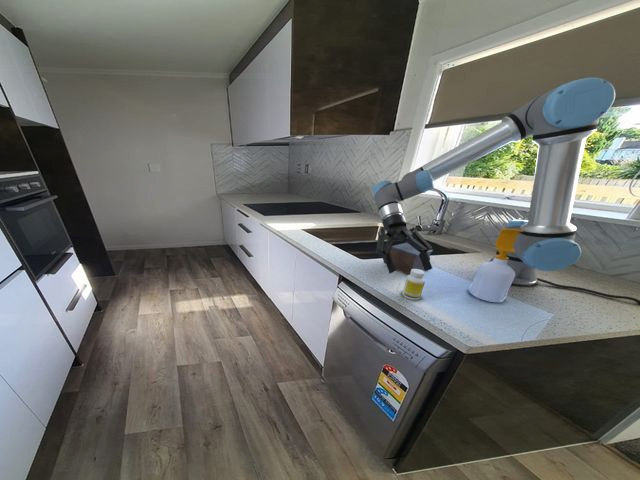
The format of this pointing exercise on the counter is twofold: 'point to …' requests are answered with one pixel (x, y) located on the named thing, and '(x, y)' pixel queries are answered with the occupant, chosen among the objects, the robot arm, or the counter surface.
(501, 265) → the soap bottle
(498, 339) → the counter surface
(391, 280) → the counter surface
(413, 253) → the box lid
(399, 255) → the box
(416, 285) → the supplement bottle
